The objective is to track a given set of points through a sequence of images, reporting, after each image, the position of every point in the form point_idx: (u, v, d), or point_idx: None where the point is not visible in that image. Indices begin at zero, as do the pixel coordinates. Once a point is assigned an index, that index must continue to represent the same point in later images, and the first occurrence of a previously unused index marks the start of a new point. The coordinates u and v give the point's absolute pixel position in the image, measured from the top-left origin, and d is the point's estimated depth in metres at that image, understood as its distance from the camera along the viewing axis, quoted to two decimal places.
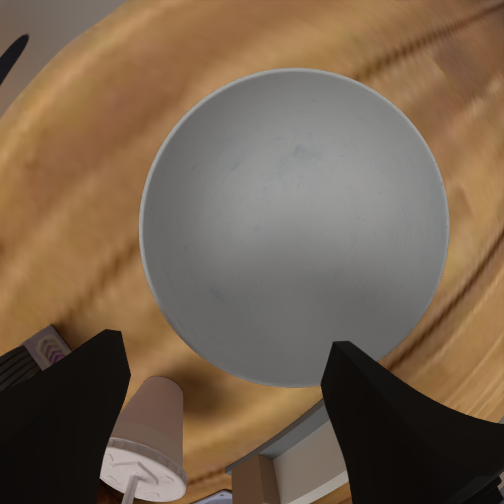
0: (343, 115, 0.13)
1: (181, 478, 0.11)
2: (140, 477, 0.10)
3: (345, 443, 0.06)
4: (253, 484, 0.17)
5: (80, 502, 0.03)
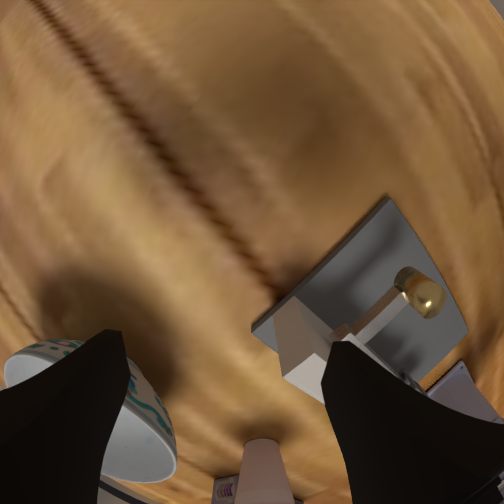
0: (28, 375, 0.15)
1: None
2: None
3: (345, 443, 0.06)
4: None
5: (80, 502, 0.03)
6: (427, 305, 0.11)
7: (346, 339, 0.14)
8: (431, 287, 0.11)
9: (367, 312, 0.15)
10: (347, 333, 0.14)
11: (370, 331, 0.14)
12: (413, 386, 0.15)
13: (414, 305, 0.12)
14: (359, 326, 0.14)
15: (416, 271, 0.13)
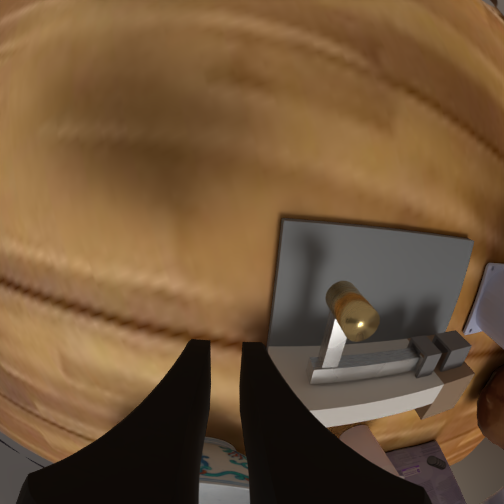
0: None
1: None
2: None
3: (247, 452, 0.06)
4: None
5: None
6: (356, 332, 0.11)
7: (315, 375, 0.15)
8: (347, 318, 0.11)
9: (323, 340, 0.15)
10: (312, 370, 0.15)
11: (333, 357, 0.14)
12: (425, 355, 0.15)
13: None
14: (321, 357, 0.15)
15: (337, 293, 0.13)
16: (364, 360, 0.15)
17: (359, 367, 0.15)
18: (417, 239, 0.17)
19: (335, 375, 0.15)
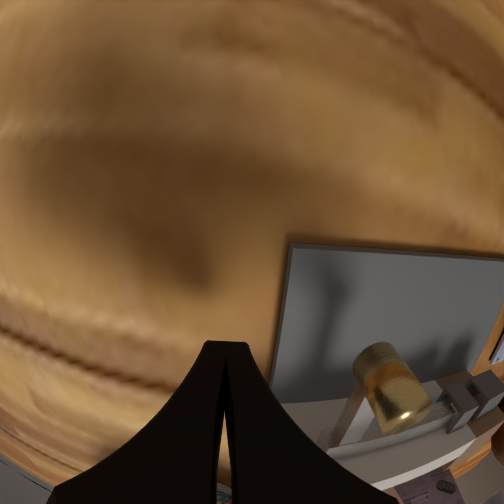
0: None
1: None
2: None
3: (229, 452, 0.06)
4: None
5: None
6: (398, 426, 0.06)
7: (330, 452, 0.09)
8: (390, 414, 0.06)
9: (343, 412, 0.10)
10: (326, 448, 0.09)
11: (355, 433, 0.09)
12: (461, 411, 0.09)
13: None
14: (339, 432, 0.09)
15: (373, 365, 0.08)
16: None
17: (385, 437, 0.09)
18: (462, 266, 0.12)
19: (355, 449, 0.09)
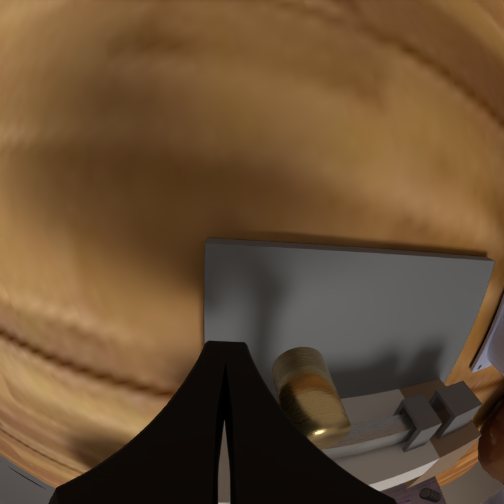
0: None
1: None
2: None
3: (228, 452, 0.06)
4: None
5: None
6: None
7: None
8: None
9: None
10: None
11: None
12: (418, 428, 0.09)
13: None
14: None
15: (286, 372, 0.08)
16: None
17: (328, 449, 0.09)
18: (420, 264, 0.11)
19: None
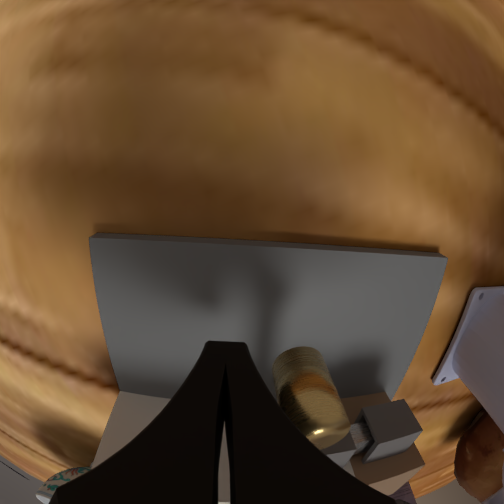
0: None
1: None
2: None
3: (228, 452, 0.06)
4: None
5: None
6: None
7: None
8: None
9: None
10: None
11: None
12: None
13: None
14: None
15: (286, 371, 0.08)
16: None
17: None
18: (326, 260, 0.11)
19: None
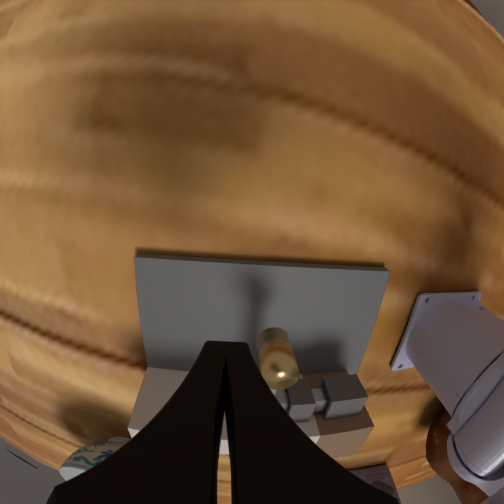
0: None
1: None
2: None
3: (229, 452, 0.06)
4: None
5: None
6: (275, 382, 0.12)
7: None
8: (263, 370, 0.12)
9: None
10: None
11: None
12: (291, 403, 0.15)
13: None
14: None
15: (263, 341, 0.14)
16: None
17: None
18: (294, 273, 0.17)
19: None
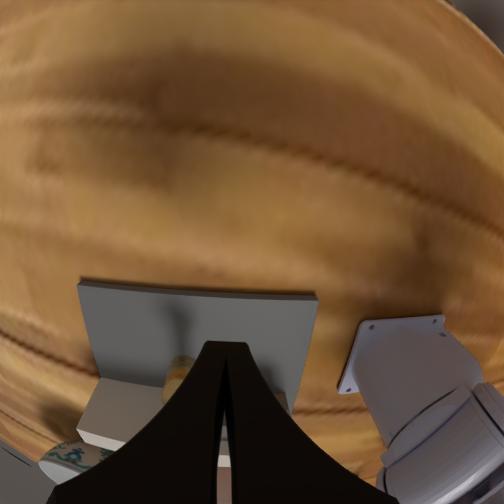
0: (66, 472, 0.20)
1: None
2: None
3: (229, 452, 0.06)
4: None
5: None
6: None
7: None
8: (161, 395, 0.12)
9: None
10: None
11: None
12: None
13: None
14: None
15: (170, 367, 0.14)
16: None
17: None
18: (211, 303, 0.17)
19: None
